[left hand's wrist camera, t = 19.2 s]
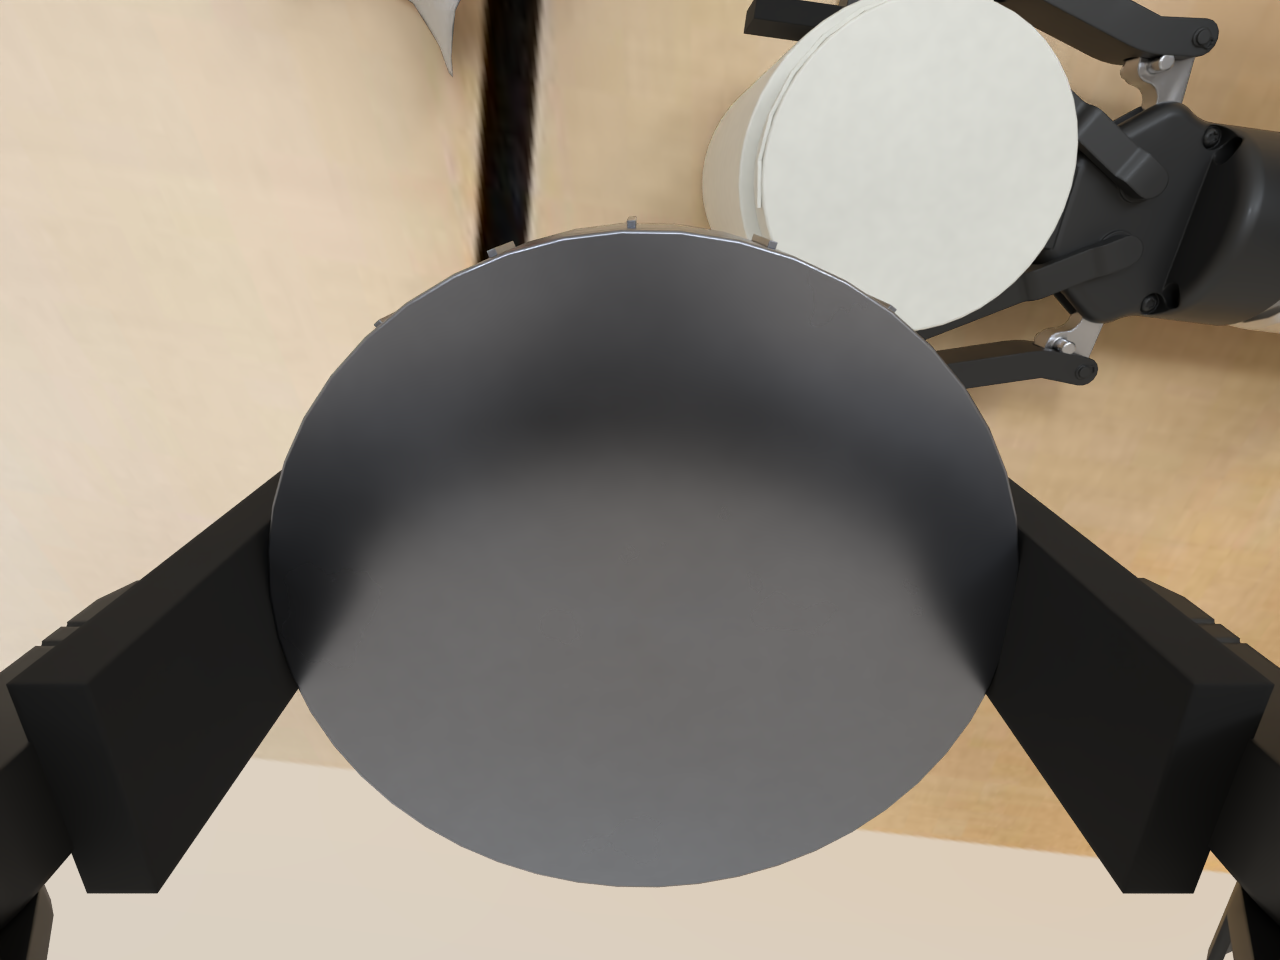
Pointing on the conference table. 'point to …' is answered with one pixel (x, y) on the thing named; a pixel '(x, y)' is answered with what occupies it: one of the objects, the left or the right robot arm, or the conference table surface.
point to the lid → (643, 556)
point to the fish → (440, 23)
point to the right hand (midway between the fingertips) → (727, 165)
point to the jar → (903, 153)
